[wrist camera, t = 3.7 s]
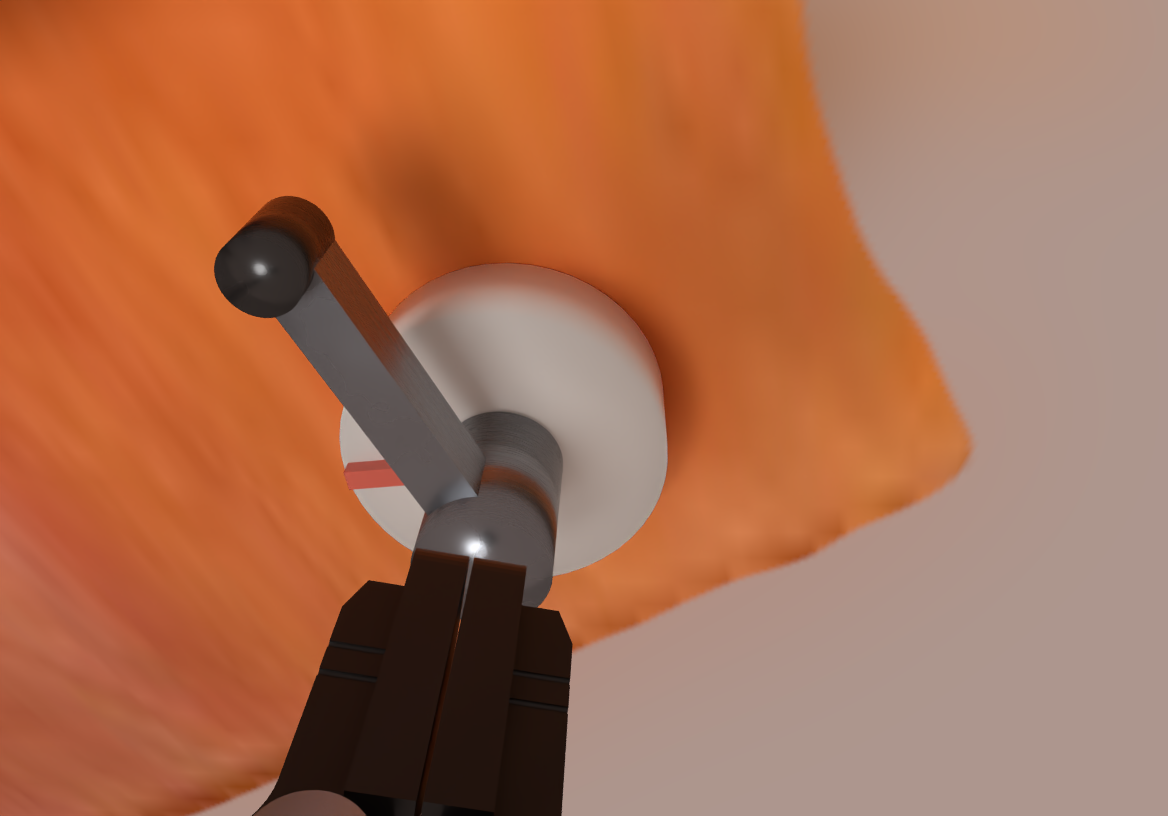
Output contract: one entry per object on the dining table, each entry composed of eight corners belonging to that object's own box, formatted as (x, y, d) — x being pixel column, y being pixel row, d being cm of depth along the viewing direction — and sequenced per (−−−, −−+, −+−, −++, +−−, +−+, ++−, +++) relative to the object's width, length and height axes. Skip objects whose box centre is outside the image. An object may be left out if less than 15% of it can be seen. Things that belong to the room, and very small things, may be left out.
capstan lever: (584, 484, 33) (577, 597, 28) (481, 524, 34) (458, 639, 29) (362, 135, 26) (301, 203, 21) (245, 200, 27) (162, 278, 22)
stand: (673, 505, 38) (679, 580, 34) (405, 525, 40) (381, 599, 36) (650, 247, 32) (654, 302, 28) (330, 280, 33) (292, 337, 29)
